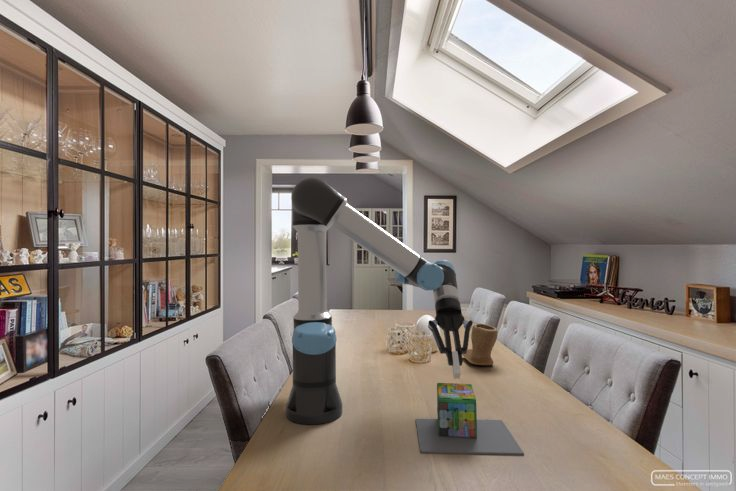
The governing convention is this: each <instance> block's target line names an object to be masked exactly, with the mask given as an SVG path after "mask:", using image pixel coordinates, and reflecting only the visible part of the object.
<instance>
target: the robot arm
mask: <svg viewBox="0 0 736 491" xmlns="http://www.w3.org/2000/svg"><path fill="white" fill-rule="evenodd" d="M291 206H292V210H291V212H292V213H291V214H292V215H291V216H292V218H291V219H292V228H294V230H295V231H296V233H297V280H298V283H297V286H298V288H297V290H298V294H297V296H298V297H297V298H298V299H297V300H298V301H297V302H298V303H297V304H298V306H297V307H298V311H297V312H296V313H295V314H294V316H293V319H292V320H293V332H292V337H291V343H292V386H291V389H290V392H289V396H288V399H287V402H286V405H285V417H286V419H288V420H289V421H291V422H292V423H296V424H299V425H300V424H301V425H321V424H325V423H330V422H333V421H335V420H338V418H340V417H341V416H342V414H343V402H342V399H341V396H340V393H339V392H340V391H339V388H338V386H337V378H336V377H337V372H336V371H337V364H336V363H337V360H336V359H337V356H336V355H337V352H336V351H337V350H336V348H337V347H336V346H337V345H336V344H337V334H336V333H337V332H336V330H335V328H334V326H333V315H332V313H330V312H329V311H328V306H327V305H328V304H327V303H328V302H327V300H328V299H327V297H328V296H327V295H328V294H327V291H328V290H327V232H328V230H330V228H334V229H335V230H337V231H338V232H340V233H341V234H342V235H344V236H345V237H347V238H348V239H349V240H351V241H352V242H354V243H355V244H357V245H359V246H360V247H361V248H362V249H364V250H365V251H367V252H368V253H370V254H371V255H372V256H374V257H375V258H377V259H379V260H380V261H381V262H383V263H384V264H386V265H387V266H389V267H390V268H392V269H393V270H394V271H395V273H394V275H395V276H394V277H395V278H394V279H395V281H396V282H397V283H400V284H403V285H409V286H412V287H416V288H420V289H422V290H424V291H433V298H434V307H435V308H434V309H435V318H434V319H433V320H428V325H427V328H428V329H429V330H430V331H431V333H432V335H433V338H434V340H435V344H436V345H437V346H436V347H437V348H438V349H437V350H438V352H439V353H440V354H445V355H446V360H447V365H448V366H450V367H452V376H453V379H456V380H457V379H458V380H459V379H460V378H461V374H462V373H461V367H460V366H463V363H464V362H463V355H462V354H466V353H467V349H469V341H470V332H471V331H472V327H473V325H474V323H473V321H472V320H466V318H465V317H464V315H463V312H462V307H461V302H460V295H459V290H458V282H457V274H456V270H455V267H454V265H453V264H452V262H450V261H449V260H446V259H443V260H442V259H441V260H437V261H435V262H431V261H429V260H427V259H426V258H424V257H423V256H421V255H420V254H418V253H417V252H416V251H415V250H413V249H412V248H411V247H409V246H407V245H406V244H404V243H403V242H402V241H400V240H399V239H398V238H397V237H395V236H393V235H392V234H390V233H389V232H388V231H386V230H385V229H384V228H382V227H381V226H379V225H378V224H377V223H376V222H374V221H372V220H371V219H369V218H368V217H367V216H365V215H364V214H362V213H361V212H359V211H358V210H357V209H355V208H354V207H353V206H351V205H350V204H349V202H348V200H347V198H346V196H344V195H343V194H341V193H340V192H338V190H335V188H334V187H333V186H331V185H329V183H327V182H326V181H324V180H323V179H321V178H318V177H306V178H303V179H301V180H300V181H298V182H297V183H296V184H295V186H294V187H293V189H292V192H291ZM462 325H463V328H464V335H463V341H462V342H463V343H462V344H461V339H460V338H461V336H460V333H459V332H460V331H459V330H460V329H461V327H462ZM438 326H439V328H441V330H442V332H443V336H444V341H443V338H442V336H441V333H440V330H439V328H438ZM451 332H452V336H453V343H454V349H455V350H452V349H453V347H452V340H451Z"/></svg>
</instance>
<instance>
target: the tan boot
mask: <svg viewBox="0 0 736 491" xmlns="http://www.w3.org/2000/svg"><path fill="white" fill-rule="evenodd" d="M470 335H471V336H470V337H471V344H472V345H471V346H472V348H470V349H469V348H468V349H467V353H466V354H462V357H464V358H465V359H466V360H467V362H469V363H470V364H472V365H476V366H492V365H494V361H493V358H492V357H491V354H492V351H493V348H494V346H495V344H496V341H497V339H498V329H497V328H496V327H495V326H492V325H489V324H487V323H480V322H477V323H476V322H475V323H473V324H472V328H471V334H470Z"/></svg>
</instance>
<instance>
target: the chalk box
mask: <svg viewBox="0 0 736 491" xmlns="http://www.w3.org/2000/svg"><path fill="white" fill-rule="evenodd" d="M436 405H437V406H436V412H437V419H438V436H446V437H464V438H477V420H478V416H477V412H478V411H477V399H476V395H475V392H474V388H473V385H472V384H471V383H450V382H446V383H445V382H437V383H436Z"/></svg>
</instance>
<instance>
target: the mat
mask: <svg viewBox="0 0 736 491" xmlns="http://www.w3.org/2000/svg"><path fill="white" fill-rule="evenodd" d="M415 425H416V430H417V438H418V442H419V443H418V445H419V450H420V454H454V455H455V454H461V455H501V456H502V455H507V456H508V455H509V456H514V455H515V456H524V455H525V453H524V450H522V448H521V446H520V445H519V444H518V441H517V440H516V439H515V437H514V436H513V435H512V433H511V431H510V430H509V429H508V427H507V426H506V424H505V423H504V420H502V419H477V438H464V437H446V436H438V418H415Z"/></svg>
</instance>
